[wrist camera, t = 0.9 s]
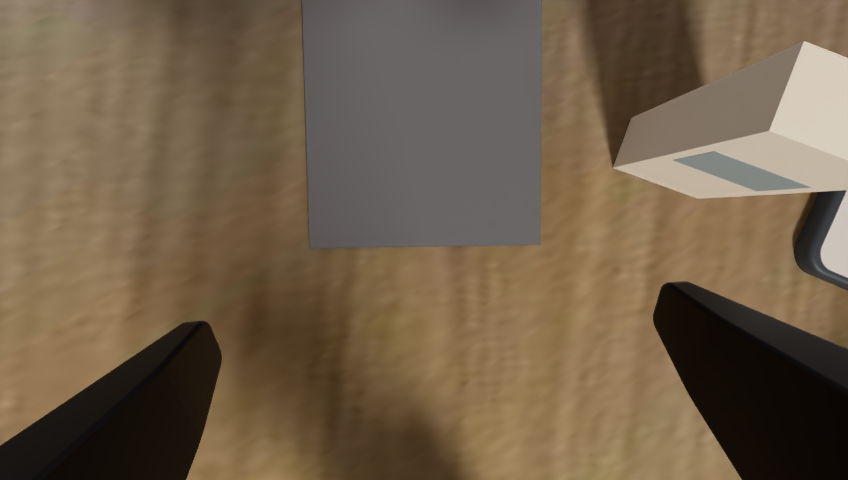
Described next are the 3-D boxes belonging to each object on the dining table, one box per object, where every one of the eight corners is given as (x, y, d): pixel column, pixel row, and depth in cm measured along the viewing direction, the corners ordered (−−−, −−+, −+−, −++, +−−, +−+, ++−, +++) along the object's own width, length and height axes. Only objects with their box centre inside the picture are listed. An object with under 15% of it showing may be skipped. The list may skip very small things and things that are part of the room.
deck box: (697, 199, 22) (915, 186, 12) (612, 168, 22) (768, 131, 12) (716, 149, 22) (952, 98, 12) (631, 117, 21) (804, 40, 12)
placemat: (536, 243, 22) (540, 244, 21) (312, 247, 21) (309, 248, 21) (538, -149, 20) (542, -160, 20) (300, -152, 20) (296, -163, 20)
